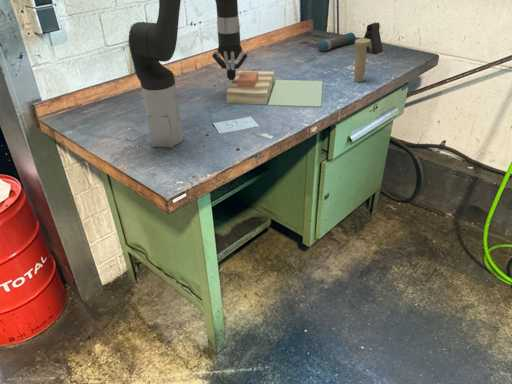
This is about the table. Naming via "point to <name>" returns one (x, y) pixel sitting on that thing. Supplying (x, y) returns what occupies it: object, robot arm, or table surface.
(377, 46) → the phone stand
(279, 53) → the table surface
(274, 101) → the mat
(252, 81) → the salmon orange block
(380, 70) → the table surface
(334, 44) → the flashlight
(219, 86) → the table surface
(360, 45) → the handle
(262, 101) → the deck
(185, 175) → the table surface
